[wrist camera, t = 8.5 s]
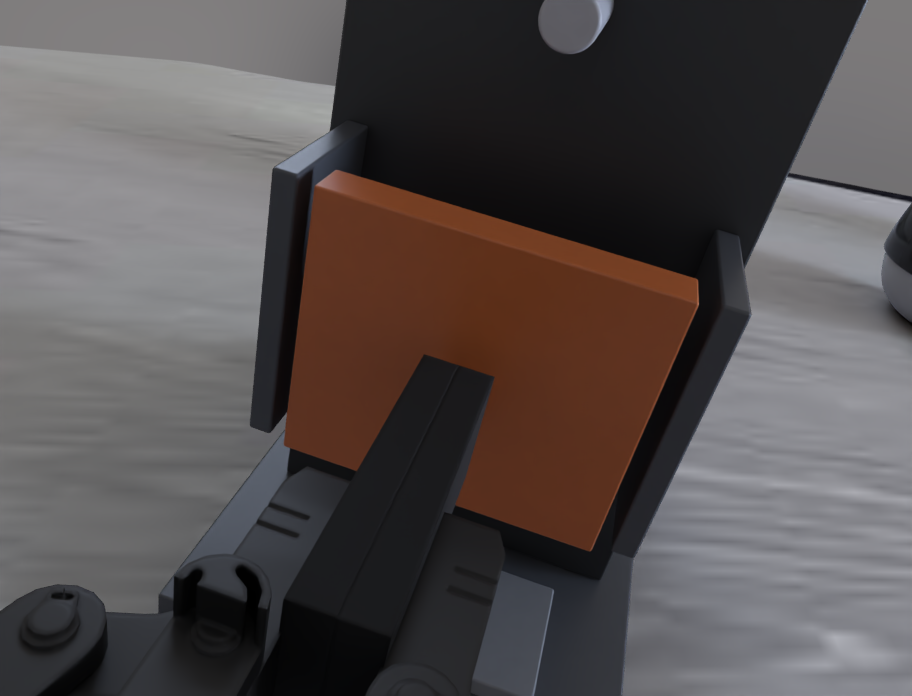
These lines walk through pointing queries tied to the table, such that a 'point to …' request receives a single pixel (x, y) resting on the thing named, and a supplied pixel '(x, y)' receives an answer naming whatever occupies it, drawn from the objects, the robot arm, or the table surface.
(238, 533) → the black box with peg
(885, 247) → the pump dispenser
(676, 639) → the table surface
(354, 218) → the push plate
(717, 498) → the table surface
